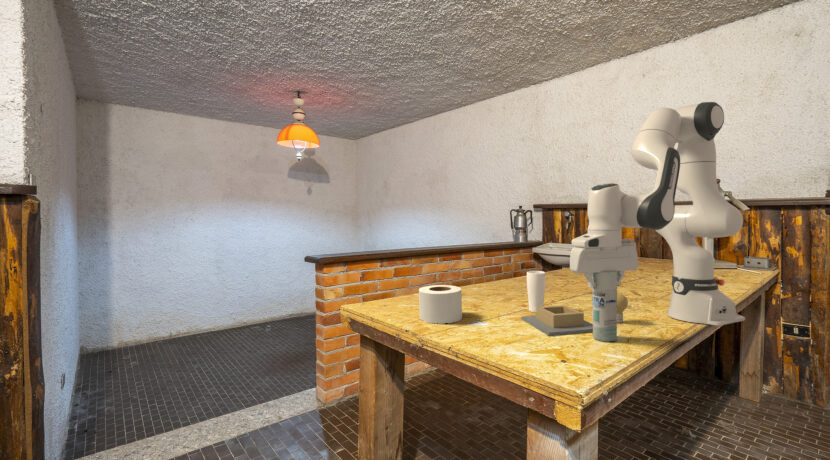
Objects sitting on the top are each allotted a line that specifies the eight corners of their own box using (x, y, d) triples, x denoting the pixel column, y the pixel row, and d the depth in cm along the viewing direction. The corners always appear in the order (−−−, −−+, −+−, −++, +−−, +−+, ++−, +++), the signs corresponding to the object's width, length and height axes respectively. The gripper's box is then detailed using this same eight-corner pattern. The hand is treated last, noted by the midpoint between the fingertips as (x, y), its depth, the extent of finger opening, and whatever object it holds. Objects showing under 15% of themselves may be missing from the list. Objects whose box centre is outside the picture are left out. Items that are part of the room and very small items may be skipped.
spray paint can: (587, 335, 110) (587, 269, 109) (606, 333, 111) (606, 268, 110) (602, 342, 104) (602, 273, 103) (622, 340, 105) (622, 271, 104)
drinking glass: (549, 312, 137) (549, 272, 136) (536, 314, 134) (536, 274, 133) (535, 308, 143) (535, 270, 142) (522, 310, 140) (522, 271, 139)
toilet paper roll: (410, 318, 133) (410, 288, 133) (440, 309, 143) (439, 282, 143) (441, 327, 122) (440, 295, 121) (470, 317, 132) (470, 288, 132)
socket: (567, 315, 132) (567, 301, 132) (601, 331, 114) (601, 315, 114) (521, 319, 129) (521, 305, 128) (549, 335, 111) (549, 319, 111)
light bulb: (631, 324, 120) (632, 294, 119) (612, 325, 120) (612, 295, 119) (620, 319, 126) (620, 290, 126) (602, 319, 126) (602, 291, 126)
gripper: (627, 237, 111) (627, 282, 112) (566, 240, 108) (566, 286, 108) (644, 239, 105) (643, 286, 106) (579, 242, 101) (580, 291, 102)
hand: (604, 286), depth 107 cm, fingers closed on spray paint can, 6 cm apart
